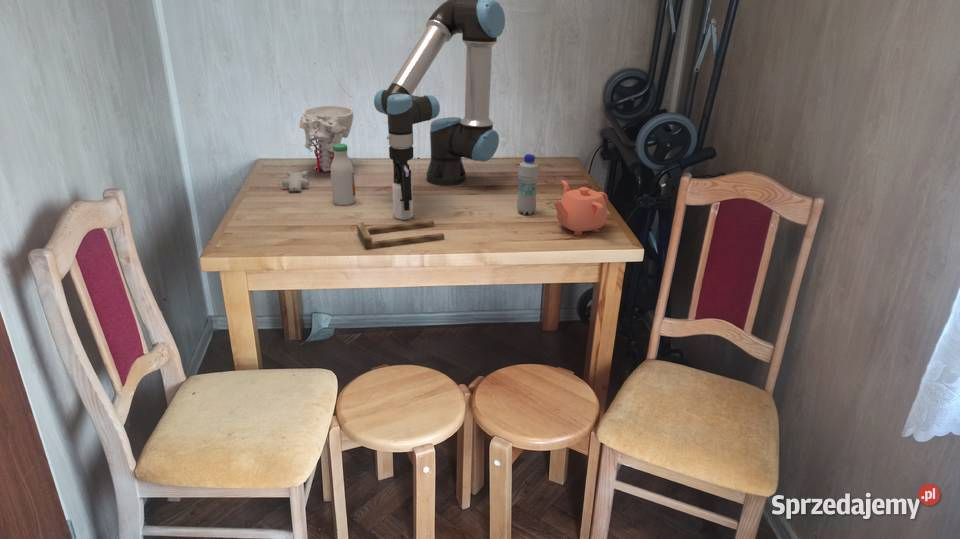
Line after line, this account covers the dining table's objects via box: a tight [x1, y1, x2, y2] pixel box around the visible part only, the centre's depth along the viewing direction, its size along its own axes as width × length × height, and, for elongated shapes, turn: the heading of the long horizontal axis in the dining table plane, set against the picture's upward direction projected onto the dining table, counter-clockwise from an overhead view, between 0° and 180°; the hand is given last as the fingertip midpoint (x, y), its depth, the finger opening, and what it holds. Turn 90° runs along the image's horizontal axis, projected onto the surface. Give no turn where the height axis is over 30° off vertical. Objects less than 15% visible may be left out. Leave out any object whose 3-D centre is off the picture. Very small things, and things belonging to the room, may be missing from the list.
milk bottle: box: [330, 143, 356, 206], centre depth 217 cm, size 8×8×20 cm
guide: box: [356, 220, 445, 250], centre depth 194 cm, size 24×12×4 cm, turn 111°
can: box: [391, 179, 414, 221], centre depth 208 cm, size 6×6×12 cm
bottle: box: [516, 153, 540, 216], centre depth 211 cm, size 7×7×20 cm
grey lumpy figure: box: [281, 169, 310, 193], centre depth 233 cm, size 10×5×15 cm
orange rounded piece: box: [553, 179, 609, 237], centre depth 202 cm, size 16×17×14 cm
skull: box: [299, 105, 354, 174], centre depth 245 cm, size 25×19×23 cm
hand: (403, 214), depth 210 cm, fingers closed on can, 6 cm apart
